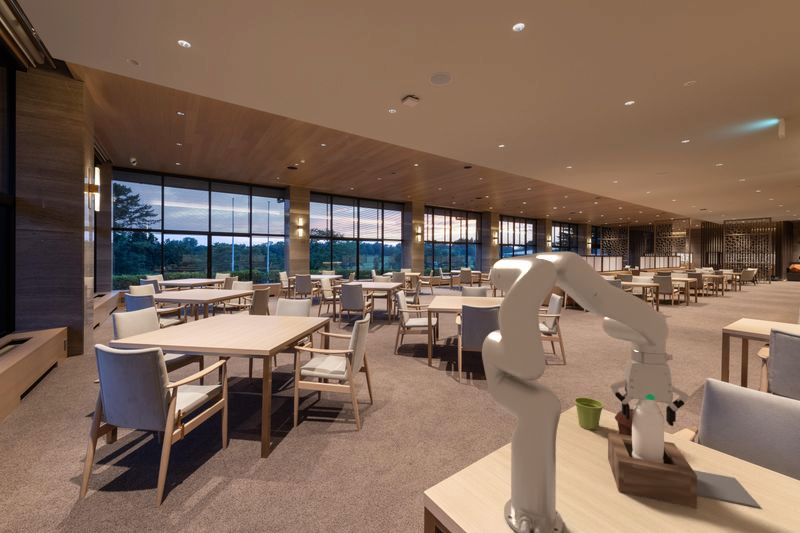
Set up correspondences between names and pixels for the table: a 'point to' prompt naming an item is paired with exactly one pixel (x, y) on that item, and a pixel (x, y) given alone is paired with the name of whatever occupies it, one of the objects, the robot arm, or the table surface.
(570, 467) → the table surface
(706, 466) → the table surface
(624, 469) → the slot box
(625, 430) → the muffin
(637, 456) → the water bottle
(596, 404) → the plant pot
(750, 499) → the mat
